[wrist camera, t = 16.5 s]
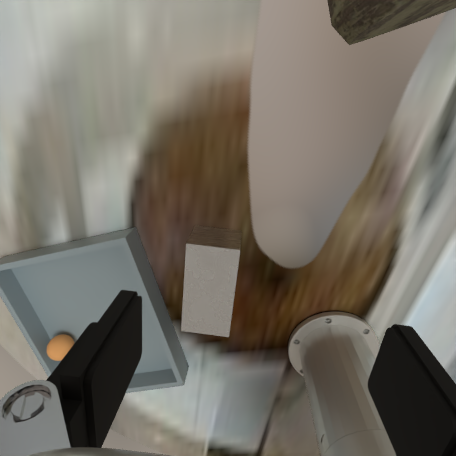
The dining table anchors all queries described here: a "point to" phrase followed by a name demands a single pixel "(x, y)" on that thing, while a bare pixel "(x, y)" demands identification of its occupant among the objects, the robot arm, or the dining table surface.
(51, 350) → the ball
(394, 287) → the dining table surface
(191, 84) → the dining table surface
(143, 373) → the tray
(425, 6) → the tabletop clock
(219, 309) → the silver metal block
